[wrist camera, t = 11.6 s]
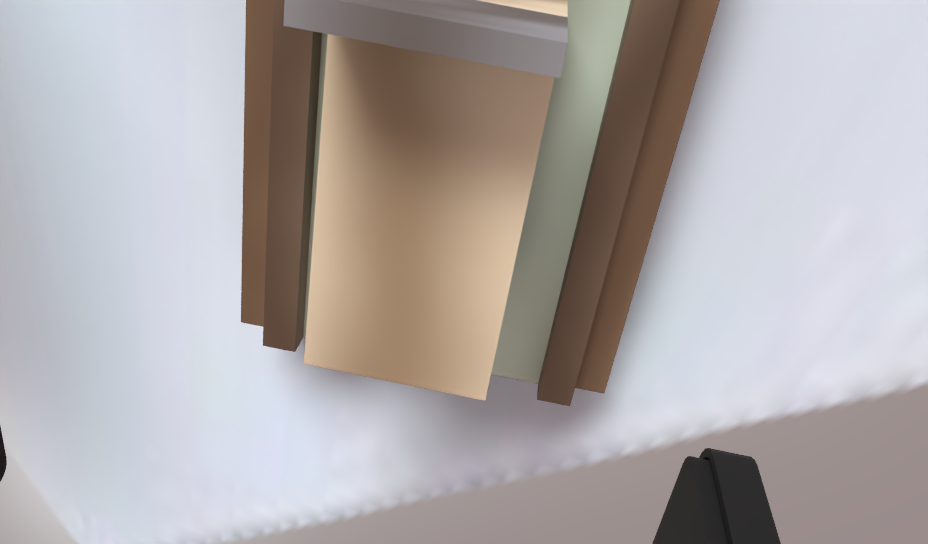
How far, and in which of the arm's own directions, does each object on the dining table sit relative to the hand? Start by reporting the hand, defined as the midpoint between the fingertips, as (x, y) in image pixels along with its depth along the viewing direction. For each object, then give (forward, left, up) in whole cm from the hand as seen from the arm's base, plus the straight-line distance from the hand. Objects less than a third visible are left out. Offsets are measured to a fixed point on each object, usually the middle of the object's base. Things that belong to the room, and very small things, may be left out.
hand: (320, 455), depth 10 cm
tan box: (0, 0, -16) cm, 16 cm away
